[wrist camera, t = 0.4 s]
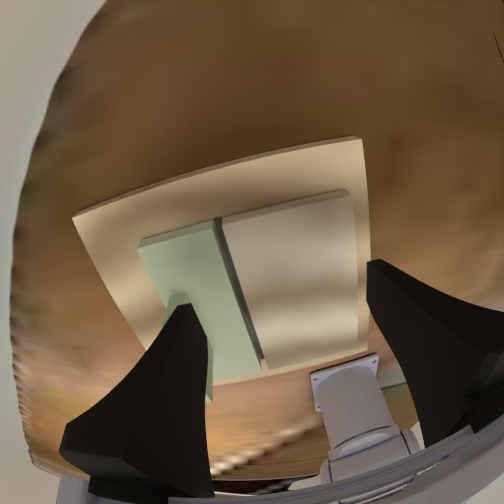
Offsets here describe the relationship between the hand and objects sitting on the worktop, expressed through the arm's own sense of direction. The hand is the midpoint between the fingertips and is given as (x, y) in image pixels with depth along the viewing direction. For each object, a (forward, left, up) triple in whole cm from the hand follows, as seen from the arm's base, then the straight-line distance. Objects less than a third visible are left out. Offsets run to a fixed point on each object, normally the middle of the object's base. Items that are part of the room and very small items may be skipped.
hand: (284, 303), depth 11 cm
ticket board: (-6, +3, -10) cm, 12 cm away
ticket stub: (-6, +6, -8) cm, 11 cm away
